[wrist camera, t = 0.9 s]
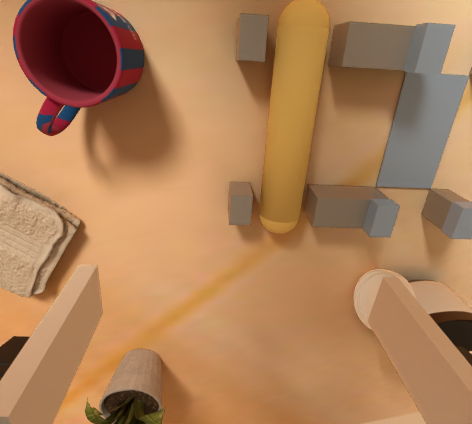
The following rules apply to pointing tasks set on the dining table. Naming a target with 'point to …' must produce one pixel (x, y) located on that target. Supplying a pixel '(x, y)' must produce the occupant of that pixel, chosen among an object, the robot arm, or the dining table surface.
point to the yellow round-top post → (292, 111)
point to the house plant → (132, 392)
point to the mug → (75, 56)
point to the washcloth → (30, 237)
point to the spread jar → (430, 298)
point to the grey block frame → (401, 134)
